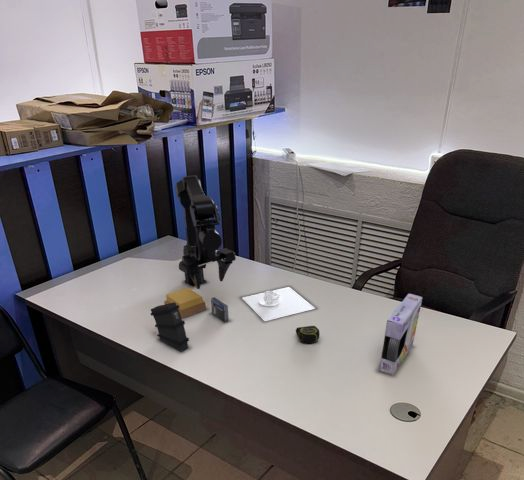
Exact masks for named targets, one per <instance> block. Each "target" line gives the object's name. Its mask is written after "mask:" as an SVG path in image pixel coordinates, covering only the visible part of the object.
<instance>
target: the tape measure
mask: <svg viewBox="0 0 524 480" xmlns="http://www.w3.org/2000/svg"><path fill="white" fill-rule="evenodd" d="M295 334H296V336H297V337H298V340H299V341H300V342H302V343H305V344H312V343H316V342H317V341H319V339H320V328H318V327H317V326H316V325H308V326H307V325H306V326H300V327H299V326H298V327H296V329H295Z"/></svg>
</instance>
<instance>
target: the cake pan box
mask: <svg viewBox="0 0 524 480" xmlns="http://www.w3.org/2000/svg"><path fill="white" fill-rule="evenodd" d="M422 303H423V296H420V295H416V294H413V293H407V295H405V297H404V298H403V300H402V301H401V302H400V303H399V304H398V305H397V306H396V308H395V310H394V311H393V312H392V313H391V315H390V316H389V317H388V318H387V320H386V324H385V331H384V336H383V337H384V338H383V345H382V350H381V356H380V362H379V370H378V371H379V372H381V373H384V374H386V375H389V376H394V375H395V374H396V372H397V371H398V369H399V367H400V366H401V364H402V362H403V361H404V359H405V358H406V356H407V355H408V354H409V352H410V350H411V349H412V347H413V345H414V341H415V336H416V331H417V327H418V326H417V325H418V321H419V317H420V312H421V308H422Z"/></svg>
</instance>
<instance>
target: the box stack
mask: <svg viewBox="0 0 524 480" xmlns="http://www.w3.org/2000/svg"><path fill="white" fill-rule="evenodd" d="M165 297H166V300H165V301H164V302H163V303H164V304H163V305H165V304H169V303H174V302H175V303H176V305H179V308H178V310H179V312H180V315H181V318H182V319H184V318H187V317H189V316H192V315H194V314H195V315H196V314H198V313H200V312H203V311H205V310H207V305H206V301H204V300H203V295H201V294H199V293H198V292H196V291H195V290H193V289H192V288H190V287H184V288H182V289H179V290H176V291H172V292H170V293H167V294H166V295H165Z"/></svg>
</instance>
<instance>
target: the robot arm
mask: <svg viewBox="0 0 524 480" xmlns="http://www.w3.org/2000/svg"><path fill="white" fill-rule="evenodd" d="M174 188H175V189H174V191H175V195H176V197H177V199H178V201H179V203H180V204H181V206H182V208H183V217H184V228H185V239H186V240H185V241H186V244H185V245H183V250H182V252H183V255H182V256H181V261H179V263H178V270H179V271H181V272H182V273H184V283H186V284H187V285H189V286H191V287H195V288H196V289H197V290H200V287H201V285H202V284H206V283H207V280H206V279H205V277H204V269H206V267H207V265H209V264H212V263H215V262H217V267H218V278H219V282H221V283H222V282H224V279H225V276H226V275H227V272H228V270H229V268H230V266H231V265H232V264H233V262H234V261H236V253H235V251H233V250H231V249H229V248H227V247H224V248H220V247H221V246H222V244H223V243H222V242H223V239H222V237H221V235H220V234H219V233H218V231H217V230H216V226H219V225H220V221H221V216H220V212H219V208H218V206H217V203H216V202H214V201H213V199H212V198H211V196H209V195H205V193H204V191H203V188H202V184H201V180H200V179H199V176H198V175H185V176H183V177H182V178H181V179H180V180H179V181H177V182H176V183H175V187H174Z"/></svg>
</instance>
